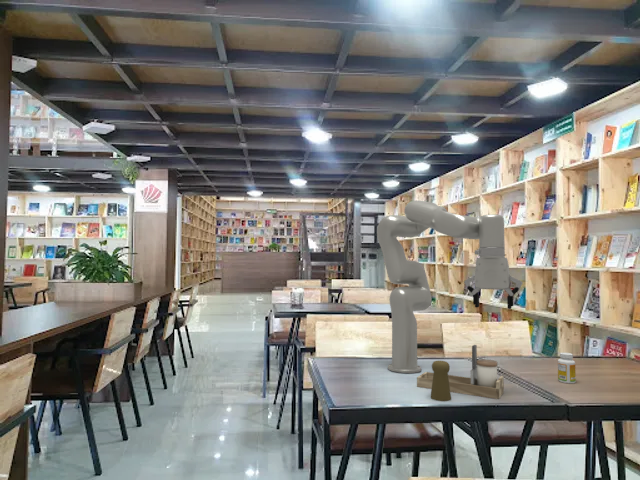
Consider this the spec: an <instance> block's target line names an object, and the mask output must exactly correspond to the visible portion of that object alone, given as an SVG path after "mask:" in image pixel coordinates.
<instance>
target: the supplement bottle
mask: <svg viewBox="0 0 640 480" xmlns="http://www.w3.org/2000/svg"><path fill="white" fill-rule="evenodd" d="M573 355H574V354H573V353H570V352H559V357H560V358H559V359H557V379H558V381H559V382H560V383H563V384H575V383H576V381H577V380H576V379H577V377H576V376H577V375H576V361H575V360H573V358H574V356H573Z"/></svg>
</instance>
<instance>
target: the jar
mask: <svg viewBox="0 0 640 480" xmlns="http://www.w3.org/2000/svg"><path fill="white" fill-rule="evenodd" d="M497 380H498V361H497V360H493V359H485V358H481V359H477V386H484V387H491V388H496V381H497Z"/></svg>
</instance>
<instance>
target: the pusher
mask: <svg viewBox="0 0 640 480" xmlns="http://www.w3.org/2000/svg"><path fill="white" fill-rule="evenodd" d="M477 348H478V347H477V344H472V346H471V354H472V355H471V370H470V378H471V385H477V360H478V357H477V355H478V353H477V351H478V349H477Z"/></svg>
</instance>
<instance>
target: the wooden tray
mask: <svg viewBox="0 0 640 480" xmlns="http://www.w3.org/2000/svg"><path fill="white" fill-rule="evenodd" d="M433 374H434V372H430V371H429V372H428V371H424V372H423V373H421V374H420V375H418V376H417V377H416V387H417V388H422V389H423V388H424V389H430V390H432V382H433ZM448 379H449V386H450V393H457V394H460V395H461V394H464V395H469V396H475V397H483V398H486V399H487V398H488V399H494V400H500V399H501V397H502V396H503V394H504V392H505V391H504V388H505V387H504V386H505V385H504V383H505V381H504V375H500V376H499V377H498V378H497V381H496V388H491V387H484V386H477V385H471V377H467V376H459V375H453V374H452V375H451V374H448Z"/></svg>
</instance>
